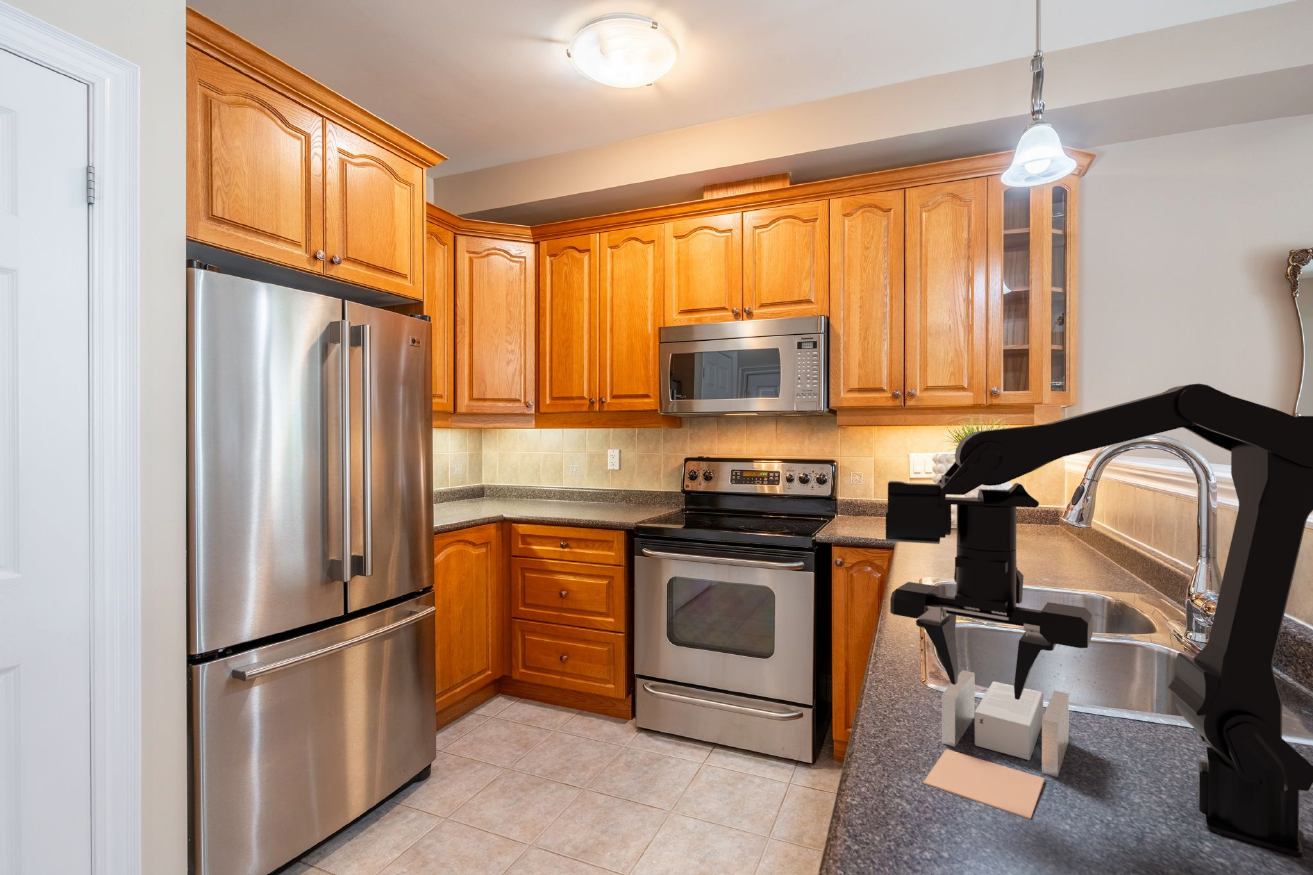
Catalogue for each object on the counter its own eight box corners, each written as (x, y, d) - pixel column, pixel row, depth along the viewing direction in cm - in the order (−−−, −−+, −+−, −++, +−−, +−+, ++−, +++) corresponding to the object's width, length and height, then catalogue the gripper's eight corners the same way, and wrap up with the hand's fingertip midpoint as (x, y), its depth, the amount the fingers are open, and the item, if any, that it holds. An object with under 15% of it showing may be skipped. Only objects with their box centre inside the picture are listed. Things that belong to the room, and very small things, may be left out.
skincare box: (992, 711, 85) (972, 745, 76) (992, 680, 85) (972, 710, 76) (1044, 724, 82) (1030, 762, 72) (1045, 691, 82) (1030, 725, 72)
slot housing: (1068, 742, 77) (1068, 693, 77) (1057, 777, 69) (1057, 722, 69) (962, 714, 84) (962, 670, 84) (941, 743, 77) (941, 694, 77)
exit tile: (1044, 781, 68) (1044, 778, 68) (1030, 821, 61) (1030, 817, 61) (946, 752, 74) (946, 748, 74) (923, 785, 67) (923, 781, 67)
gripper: (1097, 546, 68) (1096, 689, 68) (918, 529, 80) (918, 651, 80) (1087, 562, 59) (1086, 726, 60) (888, 541, 71) (888, 678, 71)
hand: (985, 690), depth 68 cm, fingers open, 6 cm apart
